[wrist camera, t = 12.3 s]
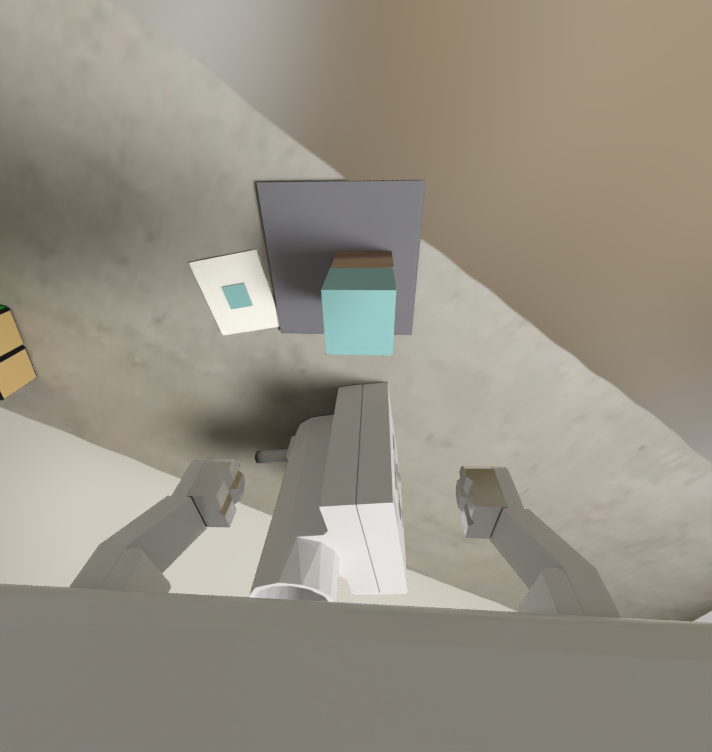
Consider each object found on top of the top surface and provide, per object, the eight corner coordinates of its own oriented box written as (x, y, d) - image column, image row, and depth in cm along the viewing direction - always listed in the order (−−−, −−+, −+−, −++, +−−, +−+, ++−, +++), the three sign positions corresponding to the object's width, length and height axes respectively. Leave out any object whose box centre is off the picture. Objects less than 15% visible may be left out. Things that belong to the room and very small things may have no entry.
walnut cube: (337, 251, 30) (330, 267, 26) (391, 251, 29) (394, 267, 25) (339, 302, 33) (334, 324, 28) (389, 303, 32) (391, 325, 28)
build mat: (258, 182, 27) (256, 182, 27) (424, 179, 27) (425, 180, 26) (282, 330, 35) (281, 333, 35) (411, 332, 35) (411, 334, 34)
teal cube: (330, 267, 26) (321, 289, 22) (393, 268, 25) (396, 290, 21) (333, 325, 29) (326, 354, 24) (390, 325, 28) (392, 355, 24)
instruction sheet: (189, 262, 32) (187, 263, 31) (256, 249, 31) (255, 250, 30) (223, 334, 36) (222, 336, 36) (282, 325, 35) (281, 326, 35)
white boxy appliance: (400, 470, 48) (413, 637, 31) (280, 477, 50) (233, 636, 34) (389, 381, 39) (398, 551, 22) (243, 396, 41) (154, 558, 25)
